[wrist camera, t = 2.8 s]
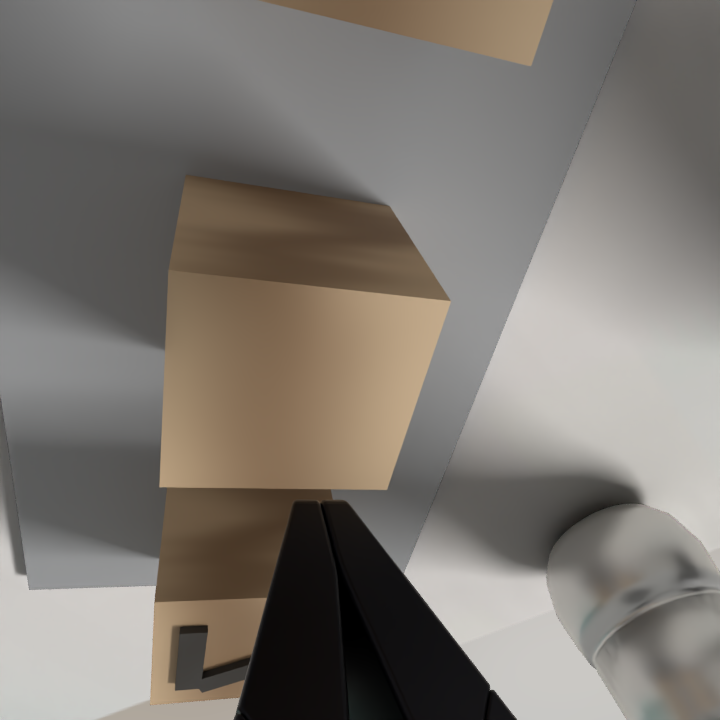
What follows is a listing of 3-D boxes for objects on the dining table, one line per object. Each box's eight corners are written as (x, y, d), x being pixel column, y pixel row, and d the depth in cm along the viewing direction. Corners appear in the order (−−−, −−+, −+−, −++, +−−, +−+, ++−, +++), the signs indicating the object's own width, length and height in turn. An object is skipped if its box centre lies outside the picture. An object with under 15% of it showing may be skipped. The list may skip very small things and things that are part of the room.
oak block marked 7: (325, 462, 20) (352, 601, 15) (301, 556, 22) (319, 696, 18) (170, 458, 18) (153, 609, 14) (164, 559, 21) (149, 712, 17)
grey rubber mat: (746, -308, 11) (766, -319, 10) (398, 567, 25) (401, 577, 24) (-155, -761, 7) (-178, -804, 7) (32, 577, 21) (29, 589, 20)
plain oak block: (389, 206, 15) (451, 301, 11) (349, 365, 17) (386, 489, 13) (185, 174, 13) (168, 269, 9) (175, 353, 16) (159, 487, 12)
